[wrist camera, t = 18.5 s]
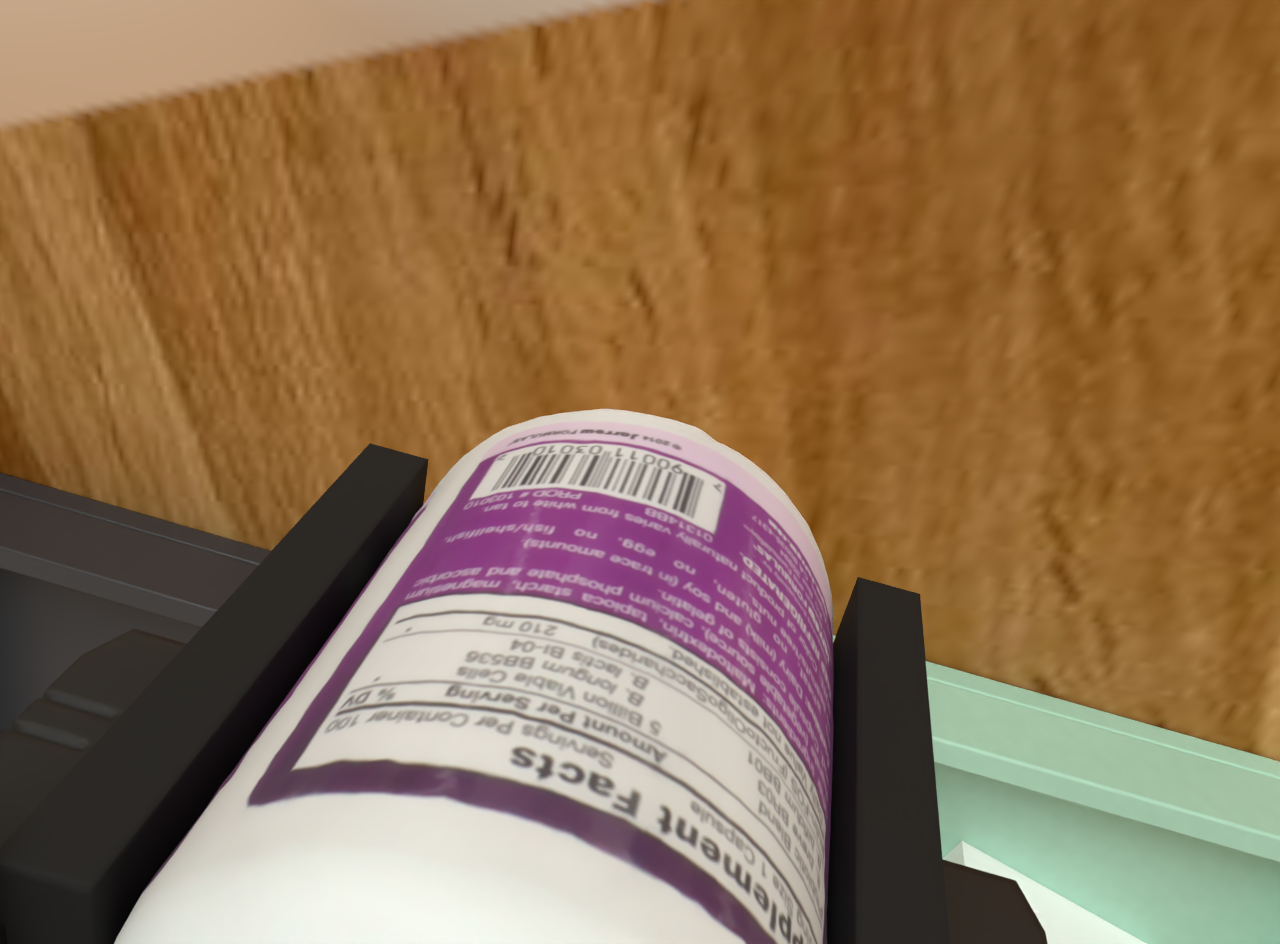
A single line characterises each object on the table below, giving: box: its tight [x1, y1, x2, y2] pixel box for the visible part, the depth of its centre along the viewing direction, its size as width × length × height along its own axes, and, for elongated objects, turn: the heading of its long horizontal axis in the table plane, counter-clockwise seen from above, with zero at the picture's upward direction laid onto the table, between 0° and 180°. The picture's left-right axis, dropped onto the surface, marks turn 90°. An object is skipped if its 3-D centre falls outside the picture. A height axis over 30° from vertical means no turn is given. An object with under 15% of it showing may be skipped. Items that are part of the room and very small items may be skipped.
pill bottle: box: [114, 409, 834, 944], centre depth 9 cm, size 5×5×10 cm
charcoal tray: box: [0, 473, 271, 733], centre depth 26 cm, size 13×13×2 cm
